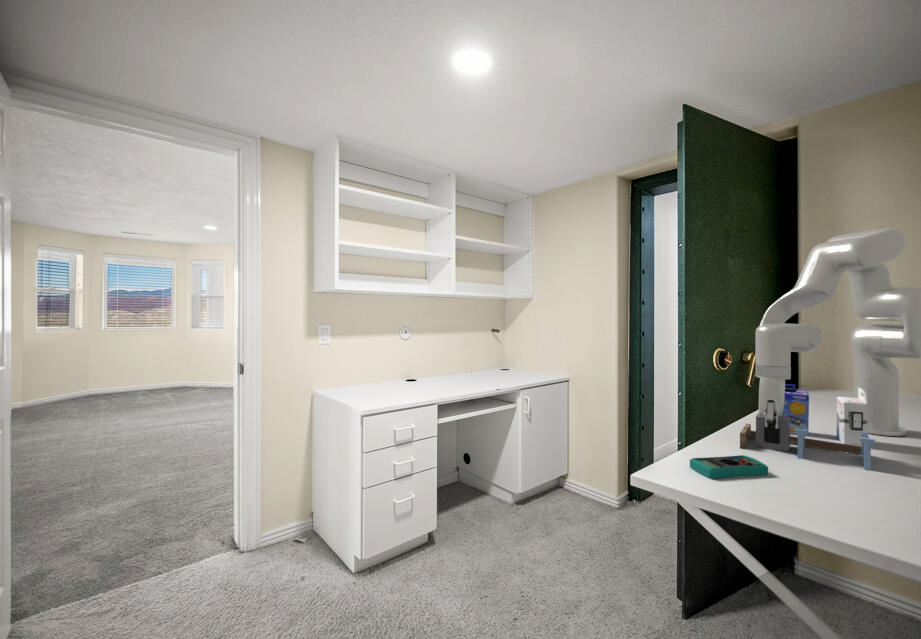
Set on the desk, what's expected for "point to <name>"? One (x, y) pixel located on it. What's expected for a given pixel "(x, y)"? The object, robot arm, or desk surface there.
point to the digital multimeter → (728, 467)
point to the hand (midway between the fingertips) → (772, 439)
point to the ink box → (852, 418)
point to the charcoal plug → (784, 433)
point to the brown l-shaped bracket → (827, 445)
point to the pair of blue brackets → (864, 440)
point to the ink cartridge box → (796, 408)
